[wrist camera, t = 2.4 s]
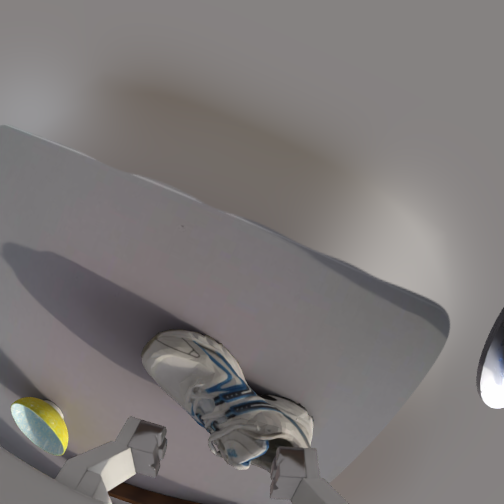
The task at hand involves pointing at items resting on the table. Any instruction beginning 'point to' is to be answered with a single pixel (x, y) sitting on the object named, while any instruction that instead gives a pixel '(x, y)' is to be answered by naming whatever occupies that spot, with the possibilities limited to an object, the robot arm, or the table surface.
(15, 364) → the table surface
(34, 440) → the bowl
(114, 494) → the wooden rail
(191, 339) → the athletic shoe
